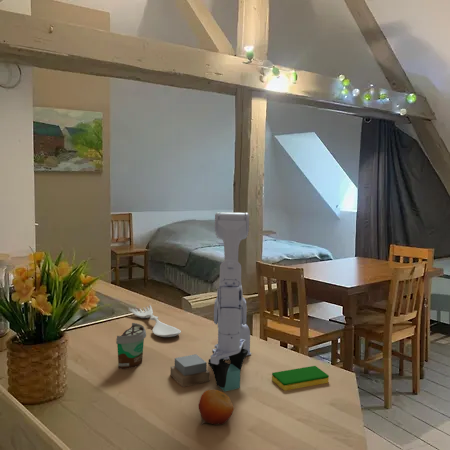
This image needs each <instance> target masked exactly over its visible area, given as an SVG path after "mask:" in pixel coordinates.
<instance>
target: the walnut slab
mask: <svg viewBox="0 0 450 450" xmlns="http://www.w3.org/2000/svg"><path fill="white" fill-rule="evenodd" d="M210 372H211V371H209V370H208V369H207V371H206V372H201V373H196V374H192V375H187V376H184V375H183V374H182V373H181V372H180V371H179V370H177V369H176V368H175V365H173V366H170V376H171V377H172V378H173V379H174V380H175V381H176V383H178V385H180V386H181V387H182V388H185V387H189V386H193V385H198V384H204V383H207V382H210V381H211V378H210V377H211V376H210V375H211V373H210Z"/></svg>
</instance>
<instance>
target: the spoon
mask: <svg viewBox="0 0 450 450" xmlns="http://www.w3.org/2000/svg"><path fill="white" fill-rule="evenodd" d="M128 311H129V312H131V313H132V314H133V315H135V316H136V317H138V318H141V319H148V318H149V319H150V321H155V324H154V325H153V328H152V331H151V332H152V333H153V334H154V335H155V336H158V337H162V338H172V337H176V336H178V335H179V334H181V332H182V331H181V329H179V328H177V327H175V326H172V325H170V324H166V323H164V322H162V321H160V320H159V316H156V315H154V310H153V307H152V305H151V304H149V305H148V306H146V307H143V310H142V309H141V308H139V310H138V309H137V308H135V309H134V308H133V307H132V308H131V307H128Z"/></svg>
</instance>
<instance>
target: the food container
mask: <svg viewBox="0 0 450 450" xmlns="http://www.w3.org/2000/svg"><path fill="white" fill-rule="evenodd" d="M146 337H147V333H146V329H145V327H144V325H142V324H140V323H135V322H132V323H131V326H130V327H129V328H128V329H126V330H124V332H123V333H122V334H121V335H116V340H115V341H116V345H117V362H118V369H119V370H124V369H133V368H137V367H138V366H140V365H142V364H143V358H144V357H143V355H144V344H145V343H144V342H145V338H146Z"/></svg>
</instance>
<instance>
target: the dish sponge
mask: <svg viewBox="0 0 450 450" xmlns="http://www.w3.org/2000/svg"><path fill="white" fill-rule="evenodd" d="M271 374H272V375H271V380H272V382H274V384H276V385H277V386H278V387H279V388H280V389H282V391H290V390H296V389H301V388H306V387H307V388H308V387H313V386H318V385H323V384H328V383H329V379H330V378H329V377H330V376H329V374H327V373H326V372H325V371H324V370H322V369H320V368H319V367H318V366H317V365H311V366H304V367H299V368H293V369H288V370H280V371H275V372H272V373H271Z"/></svg>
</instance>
